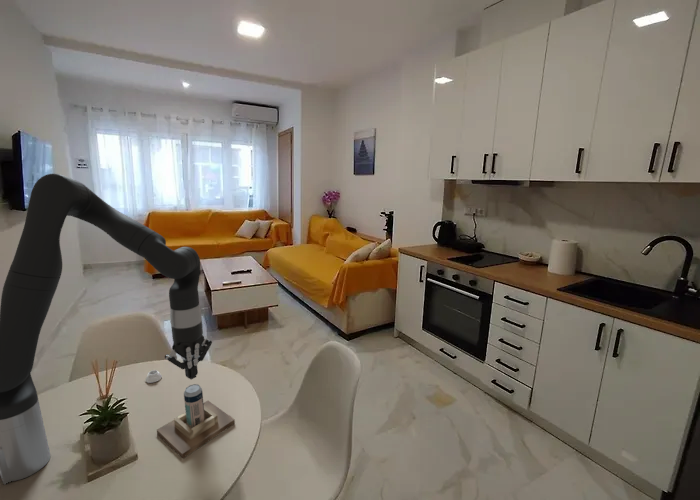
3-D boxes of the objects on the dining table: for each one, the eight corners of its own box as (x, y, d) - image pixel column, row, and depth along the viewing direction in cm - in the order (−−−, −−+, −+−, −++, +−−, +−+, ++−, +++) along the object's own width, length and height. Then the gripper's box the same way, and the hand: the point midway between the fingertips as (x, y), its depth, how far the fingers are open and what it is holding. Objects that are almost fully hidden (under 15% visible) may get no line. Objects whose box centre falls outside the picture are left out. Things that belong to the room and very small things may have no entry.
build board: (182, 458, 89) (181, 446, 88) (157, 434, 97) (155, 422, 96) (234, 423, 102) (234, 412, 101) (208, 404, 110) (207, 393, 109)
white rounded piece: (156, 373, 125) (142, 380, 121) (155, 366, 125) (141, 373, 121) (164, 378, 123) (150, 385, 119) (163, 371, 122) (149, 378, 118)
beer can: (208, 419, 101) (205, 384, 98) (199, 431, 97) (196, 394, 94) (193, 417, 102) (189, 382, 99) (183, 429, 97) (179, 392, 94)
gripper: (168, 334, 84) (175, 394, 88) (216, 316, 95) (220, 371, 99) (154, 325, 89) (161, 383, 93) (201, 309, 99) (206, 362, 103)
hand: (192, 377), depth 96 cm, fingers closed
